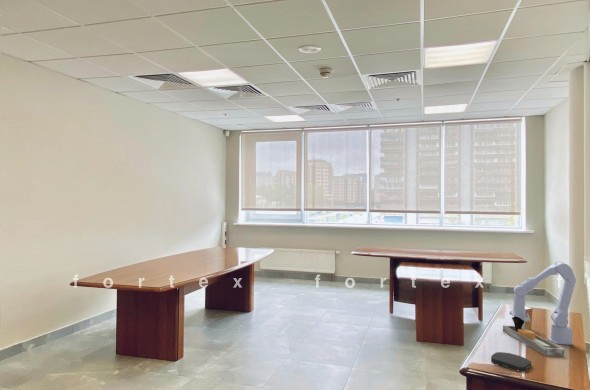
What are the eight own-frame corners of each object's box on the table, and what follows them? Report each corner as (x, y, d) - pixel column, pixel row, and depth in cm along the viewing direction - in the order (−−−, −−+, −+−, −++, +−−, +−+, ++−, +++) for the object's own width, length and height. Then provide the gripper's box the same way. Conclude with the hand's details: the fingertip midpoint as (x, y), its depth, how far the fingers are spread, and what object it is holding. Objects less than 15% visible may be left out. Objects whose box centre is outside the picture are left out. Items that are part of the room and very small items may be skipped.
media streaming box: (500, 355, 193) (500, 349, 193) (533, 365, 182) (533, 359, 182) (488, 362, 183) (488, 356, 183) (522, 373, 172) (523, 367, 172)
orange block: (528, 334, 221) (528, 329, 221) (535, 338, 215) (535, 333, 215) (517, 334, 221) (517, 329, 221) (524, 338, 215) (524, 332, 215)
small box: (524, 331, 235) (526, 309, 235) (514, 328, 240) (515, 306, 240) (531, 329, 239) (532, 308, 240) (521, 326, 245) (522, 305, 245)
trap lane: (519, 332, 232) (519, 326, 232) (563, 356, 196) (564, 349, 197) (502, 331, 232) (503, 325, 232) (544, 355, 196) (545, 348, 196)
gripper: (505, 303, 233) (503, 326, 233) (520, 310, 218) (519, 334, 218) (516, 303, 233) (515, 326, 233) (532, 310, 219) (531, 335, 219)
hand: (518, 330), depth 226 cm, fingers closed
